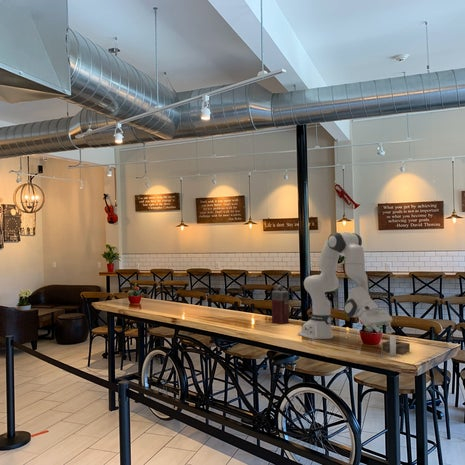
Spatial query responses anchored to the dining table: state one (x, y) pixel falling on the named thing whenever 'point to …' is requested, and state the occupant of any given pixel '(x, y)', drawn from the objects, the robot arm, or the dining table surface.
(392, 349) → the peg
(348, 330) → the dining table surface
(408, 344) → the socket block
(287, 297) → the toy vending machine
